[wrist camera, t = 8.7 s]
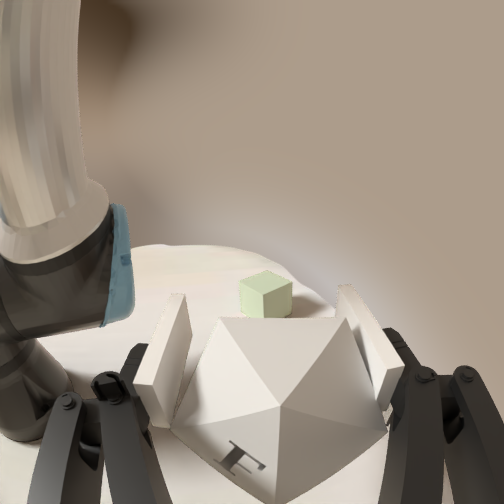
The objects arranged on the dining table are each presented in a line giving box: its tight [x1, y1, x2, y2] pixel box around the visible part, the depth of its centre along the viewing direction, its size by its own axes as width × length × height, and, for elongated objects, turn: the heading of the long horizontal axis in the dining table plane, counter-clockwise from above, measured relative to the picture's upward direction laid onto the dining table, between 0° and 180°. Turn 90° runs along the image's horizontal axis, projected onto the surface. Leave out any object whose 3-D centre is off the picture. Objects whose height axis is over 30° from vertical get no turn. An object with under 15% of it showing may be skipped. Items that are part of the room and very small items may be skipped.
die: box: [169, 317, 388, 504], centre depth 11 cm, size 8×9×10 cm
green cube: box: [239, 270, 292, 318], centre depth 46 cm, size 6×6×6 cm
